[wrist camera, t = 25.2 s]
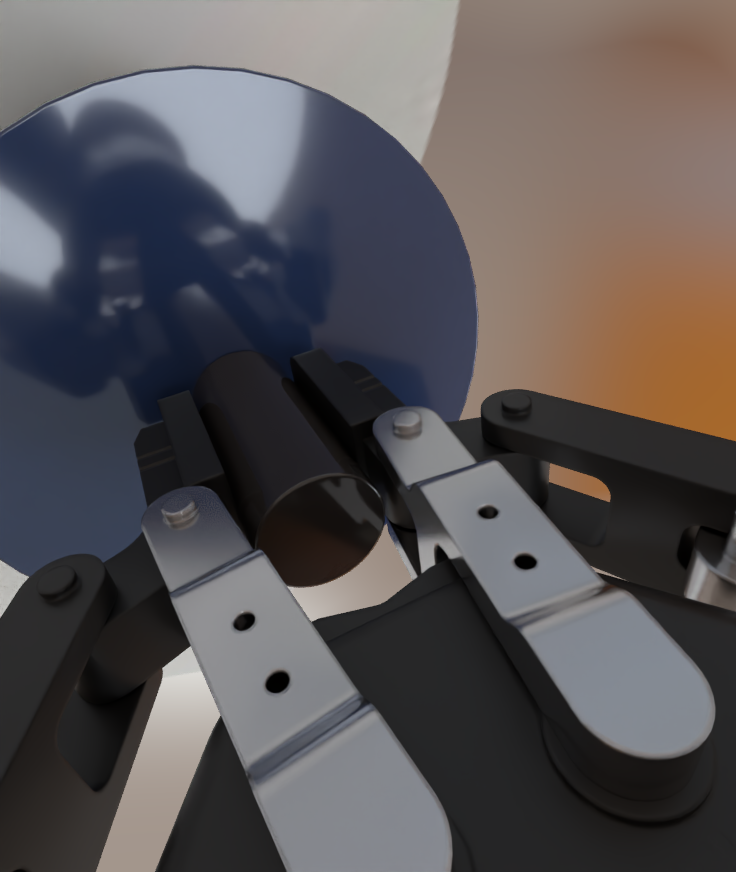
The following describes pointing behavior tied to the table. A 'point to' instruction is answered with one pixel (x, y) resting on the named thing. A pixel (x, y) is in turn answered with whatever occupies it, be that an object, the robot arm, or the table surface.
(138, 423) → the lid
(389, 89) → the table surface
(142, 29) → the table surface
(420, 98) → the table surface
